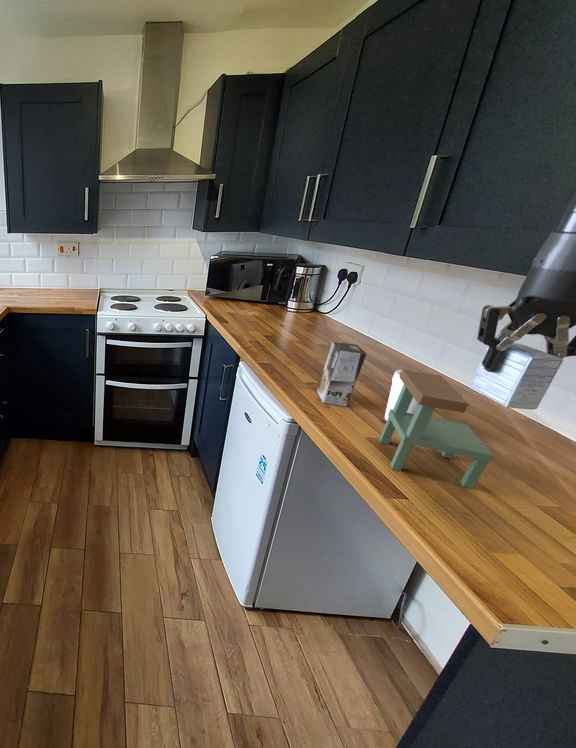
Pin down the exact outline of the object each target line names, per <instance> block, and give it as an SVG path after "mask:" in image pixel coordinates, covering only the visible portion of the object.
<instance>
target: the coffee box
mask: <svg viewBox="0 0 576 748" xmlns="http://www.w3.org/2000/svg"><path fill="white" fill-rule="evenodd" d="M366 356H367V352H366V351H364V350H363V349H362V348H361V347H360V346H359V345H358V344H355V343H347V342H336V341H332V343H331V345H330V349H329V351H328V355H327V358H326V361H325V365H324V367H323V370H322V373H321V377H320V380H319V383H318V386H317V389H316V392H317V394H318V396H319V399H320V400H321V402H322V403H323V404H328V405H334V406H339V407H345V408H346V407H347V406H348V404H349V402H350V399H351V397H352V394H353V391H354V388H355V386H356V383H357V380H358V377H359V374H360V372H361V370H362V367H363V364H364V362H365V359H366Z"/></svg>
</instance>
